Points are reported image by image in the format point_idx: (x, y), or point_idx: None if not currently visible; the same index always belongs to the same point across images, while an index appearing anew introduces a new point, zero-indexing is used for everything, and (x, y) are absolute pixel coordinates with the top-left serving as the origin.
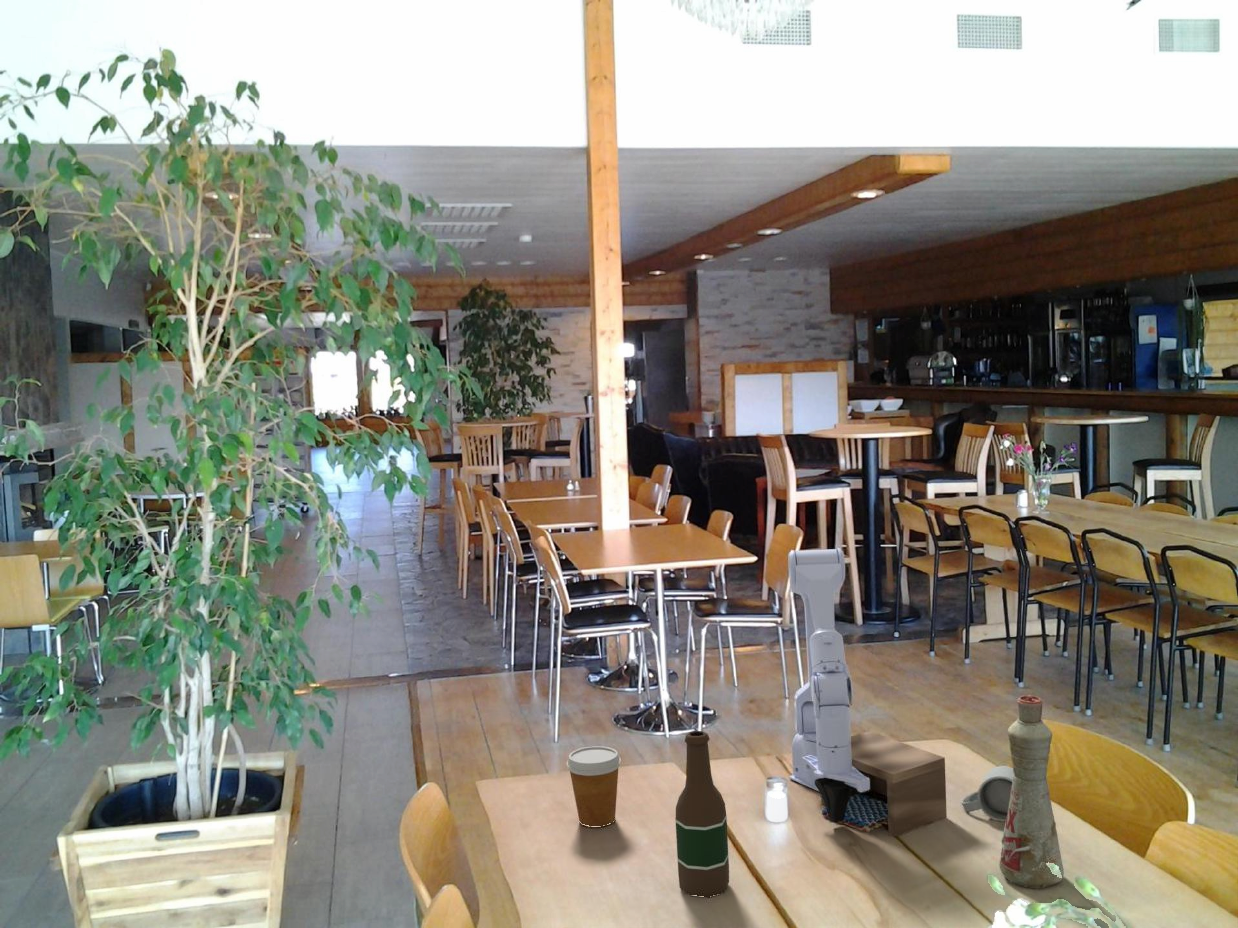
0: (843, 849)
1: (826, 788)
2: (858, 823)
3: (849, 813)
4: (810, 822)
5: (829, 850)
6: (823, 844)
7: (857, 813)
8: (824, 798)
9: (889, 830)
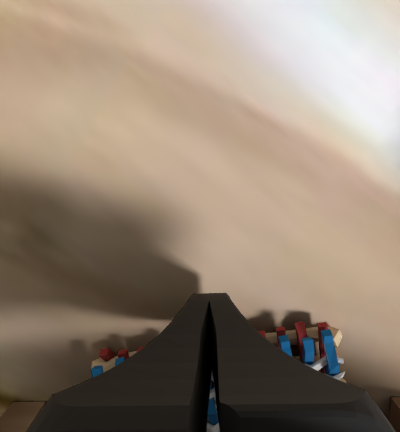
0: (9, 178)
1: (149, 396)
2: None
3: None
4: (312, 243)
5: (29, 122)
6: (94, 141)
7: (209, 420)
8: (246, 342)
9: (33, 411)
